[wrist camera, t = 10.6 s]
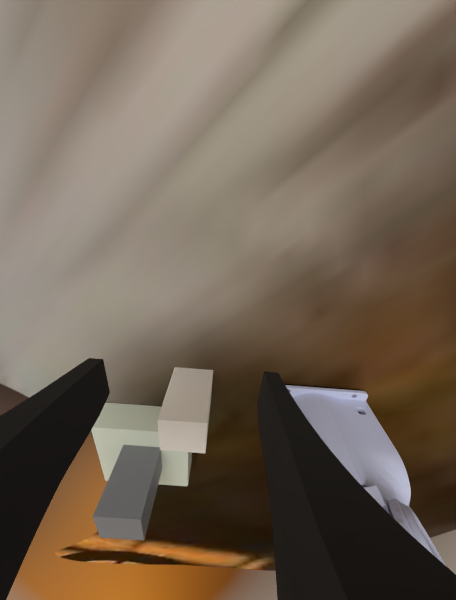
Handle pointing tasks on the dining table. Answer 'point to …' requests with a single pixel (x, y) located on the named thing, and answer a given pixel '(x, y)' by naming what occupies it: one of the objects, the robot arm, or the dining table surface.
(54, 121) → the dining table surface
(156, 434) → the sage board
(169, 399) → the off-white pillar
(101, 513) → the grey rectangular prism
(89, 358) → the robot arm
